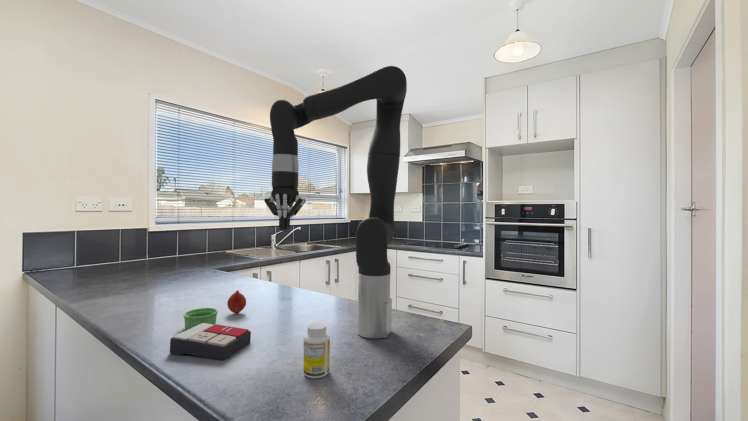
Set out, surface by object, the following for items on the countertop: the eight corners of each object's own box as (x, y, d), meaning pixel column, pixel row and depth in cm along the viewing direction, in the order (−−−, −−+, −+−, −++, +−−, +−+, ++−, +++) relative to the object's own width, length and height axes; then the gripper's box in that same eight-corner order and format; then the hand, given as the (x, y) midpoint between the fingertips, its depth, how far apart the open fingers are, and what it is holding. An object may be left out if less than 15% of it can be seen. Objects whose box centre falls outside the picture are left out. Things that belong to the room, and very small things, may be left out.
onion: (223, 315, 107) (223, 291, 107) (236, 310, 112) (236, 287, 112) (236, 317, 105) (237, 293, 105) (249, 312, 110) (250, 289, 110)
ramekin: (193, 335, 90) (194, 319, 90) (176, 328, 95) (177, 313, 95) (223, 325, 98) (223, 311, 98) (206, 319, 103) (206, 306, 103)
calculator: (225, 344, 75) (169, 335, 78) (223, 363, 75) (168, 353, 78) (252, 328, 86) (202, 320, 89) (250, 344, 86) (201, 336, 89)
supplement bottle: (318, 364, 74) (318, 319, 74) (334, 372, 70) (335, 325, 70) (297, 373, 70) (298, 326, 70) (314, 382, 66) (315, 332, 66)
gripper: (311, 172, 97) (310, 230, 97) (273, 173, 101) (272, 229, 101) (298, 169, 90) (297, 232, 90) (258, 170, 94) (257, 230, 94)
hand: (284, 230), depth 95 cm, fingers closed
